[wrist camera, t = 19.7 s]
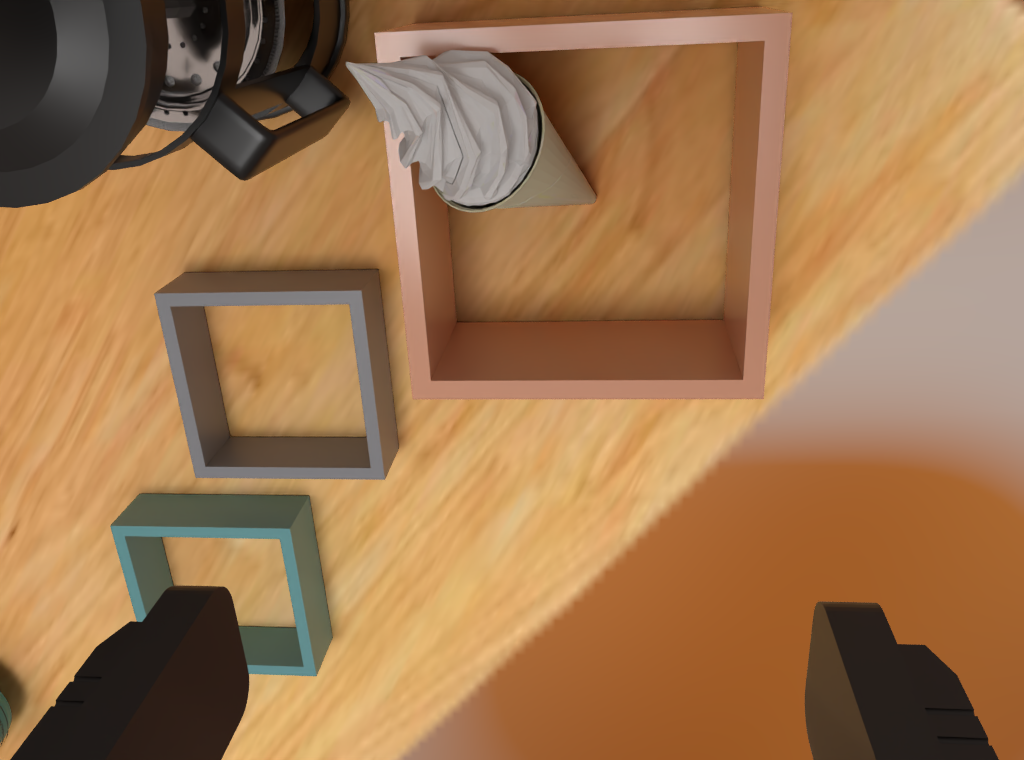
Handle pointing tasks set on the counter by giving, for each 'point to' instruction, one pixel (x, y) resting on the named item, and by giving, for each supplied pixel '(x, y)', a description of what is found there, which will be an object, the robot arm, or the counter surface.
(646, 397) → the bin
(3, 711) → the beverage bottle
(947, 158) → the counter surface
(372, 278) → the frame
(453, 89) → the ice cream cone
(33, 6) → the french press
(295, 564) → the crate
